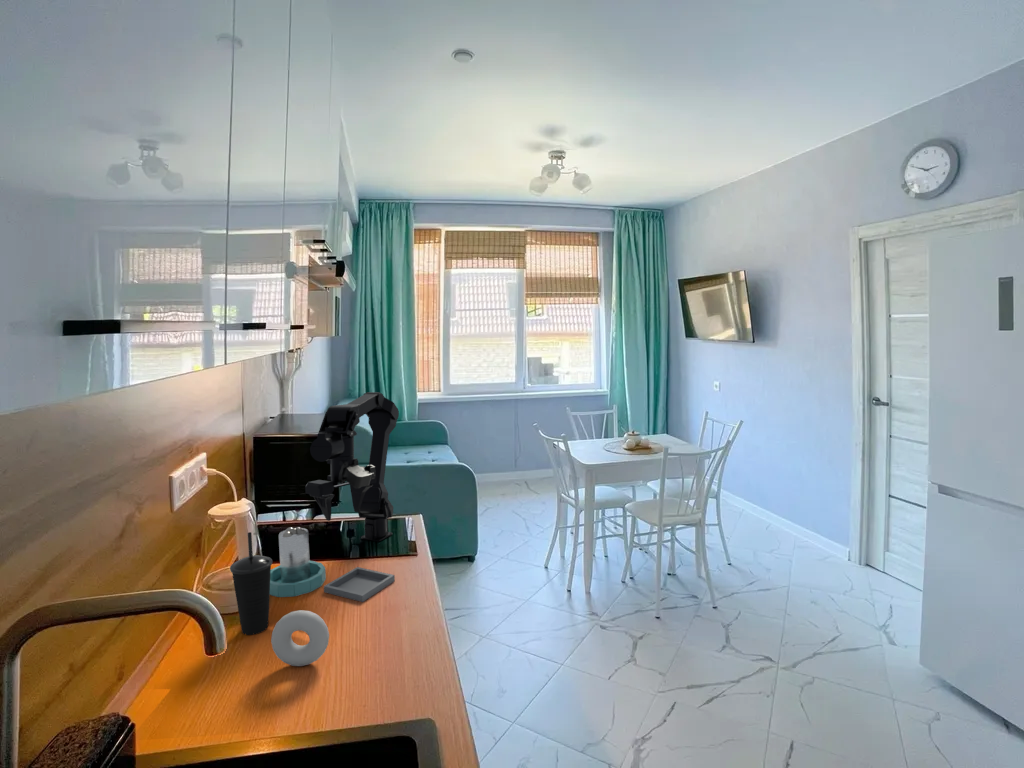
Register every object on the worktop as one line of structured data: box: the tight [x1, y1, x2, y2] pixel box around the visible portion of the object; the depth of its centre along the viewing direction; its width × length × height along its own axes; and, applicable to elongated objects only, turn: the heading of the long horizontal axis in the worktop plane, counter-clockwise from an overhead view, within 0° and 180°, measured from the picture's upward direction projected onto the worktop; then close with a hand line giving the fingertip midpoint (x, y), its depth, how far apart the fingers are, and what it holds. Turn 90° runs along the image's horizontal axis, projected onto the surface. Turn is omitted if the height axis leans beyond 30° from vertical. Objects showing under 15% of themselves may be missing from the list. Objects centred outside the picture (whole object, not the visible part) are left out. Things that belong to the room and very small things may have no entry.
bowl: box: [269, 560, 327, 598], centre depth 129 cm, size 13×13×4 cm
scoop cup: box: [278, 526, 311, 583], centre depth 129 cm, size 6×6×13 cm
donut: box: [270, 609, 330, 667], centre depth 98 cm, size 10×4×10 cm, turn 94°
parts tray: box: [323, 566, 396, 603], centre depth 127 cm, size 11×11×2 cm
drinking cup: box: [229, 532, 273, 636], centre depth 110 cm, size 8×8×20 cm
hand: (342, 516), depth 140 cm, fingers open, 9 cm apart
